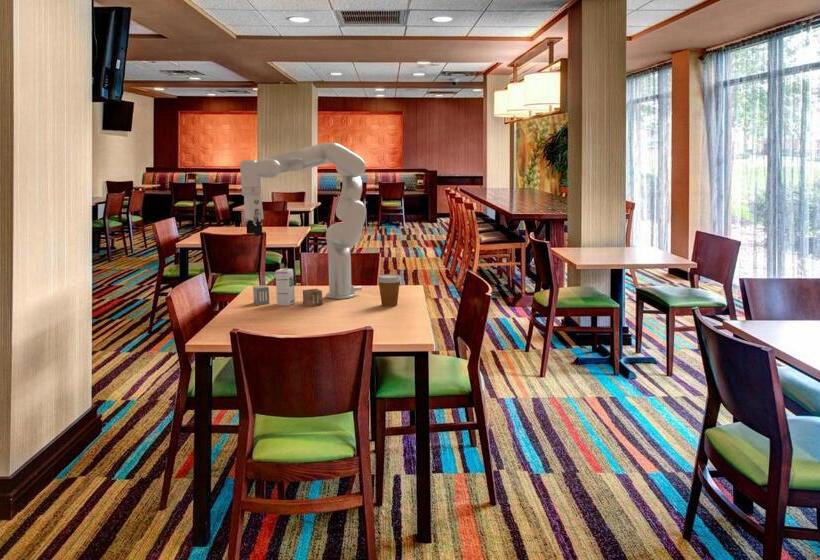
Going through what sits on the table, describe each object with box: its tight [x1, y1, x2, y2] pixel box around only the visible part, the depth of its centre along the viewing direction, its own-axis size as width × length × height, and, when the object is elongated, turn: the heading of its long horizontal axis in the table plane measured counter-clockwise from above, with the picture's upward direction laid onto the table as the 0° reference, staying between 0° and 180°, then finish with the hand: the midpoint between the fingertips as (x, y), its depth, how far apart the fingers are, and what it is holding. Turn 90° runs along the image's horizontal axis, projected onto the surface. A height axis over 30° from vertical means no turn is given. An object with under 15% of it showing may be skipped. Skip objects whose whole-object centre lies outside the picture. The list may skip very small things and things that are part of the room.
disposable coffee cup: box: [376, 273, 402, 307], centre depth 292 cm, size 10×10×12 cm
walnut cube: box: [302, 288, 323, 308], centre depth 296 cm, size 6×6×6 cm
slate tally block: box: [252, 285, 270, 306], centre depth 299 cm, size 5×5×7 cm
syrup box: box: [274, 268, 296, 307], centre depth 297 cm, size 6×6×14 cm
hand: (254, 234), depth 289 cm, fingers open, 9 cm apart
